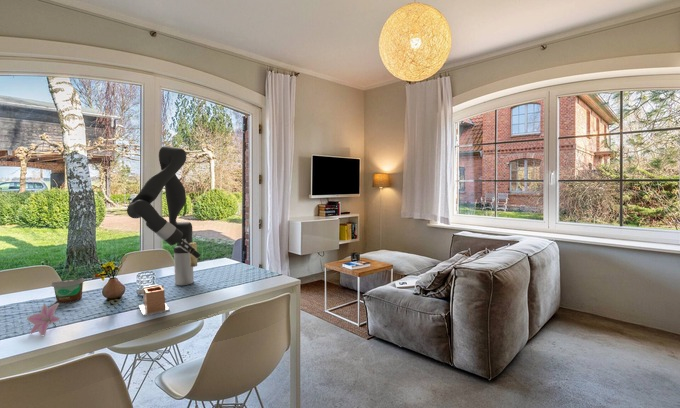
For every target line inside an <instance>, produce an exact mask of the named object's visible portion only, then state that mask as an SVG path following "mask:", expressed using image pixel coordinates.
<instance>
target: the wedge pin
mask: <svg viewBox="0 0 680 408" xmlns="http://www.w3.org/2000/svg"><path fill="white" fill-rule="evenodd" d="M189 244H190V245H191V246H192V248H194V249H195V251H196V252H198V245H197V242H195V241H192V243H189ZM191 250H192V249H190V251H191ZM197 266H198V258H196V257H195V256H193V255H192V254H190V267H193V268H194V267H197Z"/></svg>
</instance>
